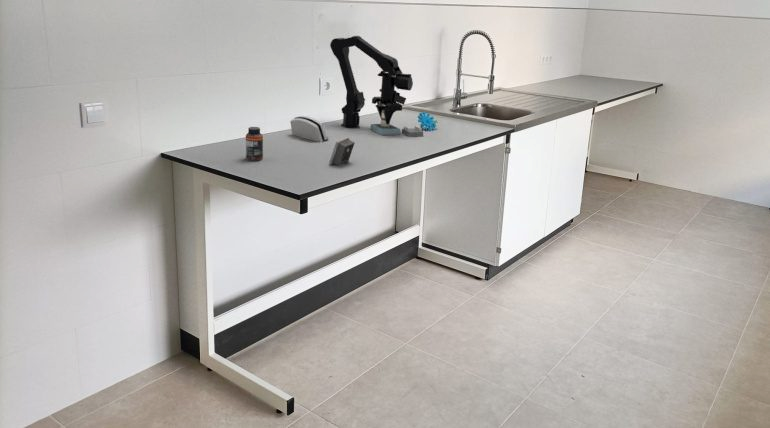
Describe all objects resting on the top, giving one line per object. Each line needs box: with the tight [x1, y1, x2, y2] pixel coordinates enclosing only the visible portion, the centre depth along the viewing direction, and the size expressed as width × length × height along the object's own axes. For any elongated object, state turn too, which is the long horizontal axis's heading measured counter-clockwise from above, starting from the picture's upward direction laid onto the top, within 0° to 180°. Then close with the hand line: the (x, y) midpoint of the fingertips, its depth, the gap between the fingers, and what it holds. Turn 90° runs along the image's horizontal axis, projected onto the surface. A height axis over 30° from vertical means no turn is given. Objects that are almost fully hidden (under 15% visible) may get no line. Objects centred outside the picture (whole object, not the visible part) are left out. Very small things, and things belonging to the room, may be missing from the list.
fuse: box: [380, 110, 391, 127], centre depth 290 cm, size 4×4×7 cm
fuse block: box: [401, 125, 424, 138], centre depth 290 cm, size 7×7×3 cm
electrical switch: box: [329, 136, 356, 167], centre depth 236 cm, size 9×5×9 cm, turn 158°
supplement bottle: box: [245, 126, 264, 162], centre depth 233 cm, size 6×6×11 cm
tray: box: [370, 123, 401, 136], centre depth 292 cm, size 9×11×2 cm
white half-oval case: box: [289, 115, 330, 143], centre depth 270 cm, size 17×5×10 cm, turn 52°
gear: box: [417, 111, 438, 132], centre depth 304 cm, size 11×6×10 cm
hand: (385, 123), depth 291 cm, fingers closed on fuse, 4 cm apart
